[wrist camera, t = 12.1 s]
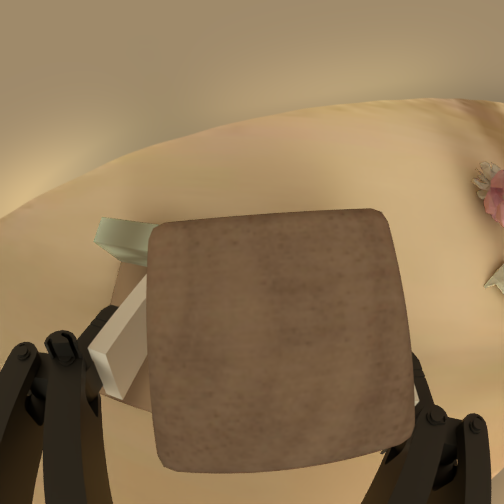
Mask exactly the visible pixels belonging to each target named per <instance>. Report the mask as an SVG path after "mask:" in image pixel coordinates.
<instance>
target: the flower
mask: <svg viewBox="0 0 504 504" xmlns="http://www.w3.org/2000/svg"><path fill="white" fill-rule="evenodd" d="M491 164H492V169H491V167H490V165H489V163H487V162H486V161H485V162H482V163H480V165H481V168H482V170H483V173H484V175H483V174H482V173H481V172H480V171H478V169H477V168H476V169H475V170H477V171H478V172H479V173H480V174H481V175H480V176H478V177H479V178H481V179H482V180H483V181H482V180H479V179H478V178H476V179H473V180H472V181H471V182H472V183H474V184H475V185H476V186H477V187H479V188H480V189H481V190H479V191H477V195H478V197H480V198H481V199H485V200H484V202H483V203H484V207H485V211H486V213H489V214H491V216H492V218H493V219H494V220H495V221H496V222H499V223H500V224H501V225H502V226H503V227H504V170H501V169H500V168H499V167H498V166H496V165H495V164H493V163H491ZM485 177H486V178H485ZM488 179H489V180H488ZM477 180H479V181H482V182H485V183H481V182H478V181H477ZM493 285H496V286H497V287H498V288H499V289H500V291H501V292H502V293H503V294H504V264H503V265H502V266H501V267H500V268H498V269H497V270H496V272H495V273H494V275H493V276H492V277H491V278H490V279H489V281H488V282H487V283H486V284H485V285H484V288H488V287H491V286H493Z"/></svg>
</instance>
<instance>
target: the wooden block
mask: <svg viewBox="0 0 504 504" xmlns="http://www.w3.org/2000/svg"><path fill="white" fill-rule="evenodd" d="M146 327H147V356H148V373H149V387H150V399H151V409H152V418H153V426H154V434H155V442H156V448H157V454H158V457H159V459H160V460H161V462H162V464H163V466H164V467H166V468H169V469H171V470H174V471H177V472H191V473H255V472H269V471H280V470H289V469H296V468H304V467H310V466H316V465H322V464H327V463H332V462H337V461H342V460H346V459H351V458H355V457H359V456H363V455H367V454H370V453H374V452H377V451H381V450H384V449H387V448H390V447H394V446H397V445H400V444H402V443H403V442H404V441H406V440H407V439H409V438H410V437H411V435H412V432H413V429H414V426H415V396H414V376H413V362H412V351H411V341H410V333H409V325H408V318H407V311H406V304H405V298H404V292H403V287H402V281H401V276H400V271H399V266H398V262H397V257H396V253H395V248H394V244H393V240H392V236H391V232H390V228H389V224H388V221H387V220H386V218H385V217H384V215H383V214H382V212H380V211H377V210H374V209H371V208H369V209H344V210H323V211H304V212H288V213H273V214H259V215H245V216H233V217H221V218H209V219H198V220H188V221H178V222H168V223H163V224H161V225H159V226H157V227H154V228H153V230H152V232H151V235H150V237H149V240H148V254H147V284H146Z"/></svg>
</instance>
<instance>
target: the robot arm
mask: <svg viewBox="0 0 504 504" xmlns="http://www.w3.org/2000/svg"><path fill="white" fill-rule="evenodd" d="M146 284H147V274H146V275H145V276H144V277H143V279H142V280H141V281H140V282H139V283H138V285H137V286H136V287H135V288H134V289H133V291H132V292H131V293H130V294H129V296H128V297H127V298H126V299H125V300H124V302H123V303H122V304H121V305H120V307H118V306H115V305H109V306H108V307H106V308H104V309H103V310H101V312H100V313H99V314H98V315H97V316H96V318H95V319H94V320H93V321H92V322H91V324H90V325H89V326H88V327H87V328H86V330H85V331H84V332H83V333H82V334H81V336H80V337H79V338H78V339H77V340H76V337H75V336H74V334H73V333H71V332H69V331H65V330H61V331H56V332H54V333H52V334H50V335H49V336H48V337H47V338H46V340H45V342H44V344H45V346H46V349H47V351H48V353H49V354H47V353H39V352H38V350H37V348H36V347H35V345H34V344H32V343H30V342H23V343H20V344H18V345H17V346H15V347H14V349H13V350H12V351H11V353H10V355H9V357H8V359H7V360H6V362H5V364H4V366H3V368H2V370H1V372H0V504H32V500H33V494H34V488H35V483H36V477H37V473H38V468H39V464H40V459H41V455H42V451H43V477H44V492H45V503H46V504H113V502H112V497H111V491H110V486H109V480H108V473H107V466H106V459H105V450H104V440H103V429H102V413H101V397H100V394H99V392H100V390H101V388H102V387H104V389H105V392H106V394H108V395H111V396H113V397H116V398H118V399H121V400H123V399H124V397H125V395H126V393H127V391H128V389H129V387H130V385H131V384H132V382H133V380H134V378H135V376H136V374H137V372H138V371H139V369H140V367H141V365H142V363H143V361H144V360H145V358H146V356H147V327H146ZM412 362H413V376H414V396H415V426H414V429H413V432H412V435H411V437H410V438H409V439H407V440H406V441H404V442H403V443H402V444H400V445H397V446H394V447H390V448H387V449H384V450H382V452H381V453H380V454H383V453H385V452H386V453H385V456H384V458H383V460H382V462H381V465H380V467H379V469H378V471H377V473H376V475H375V478H374V480H373V482H372V484H371V486H370V488H369V490H368V491H367V493H366V495H365V497H364V499H363V501H362V503H361V504H491V463H490V449H489V439H488V431H487V425H486V422H485V421H484V419H483V418H482V417H481V416H480V415H478V414H475V413H472V414H469V415H467V416H466V417H465V418H464V419H463V420H459V419H454V418H449V417H448V416H447V414H446V412H445V411H444V410H443V409H442V408H441V407H439V406H438V405H435V404H434V402H433V399H432V396H431V393H430V390H429V387H428V384H427V381H426V378H424V377H425V375H424V373H423V371H422V367H421V364H420V362H419V359H418V358H417V357H416V356H415V355H414V353H413V352H412ZM457 461H458V465H457Z"/></svg>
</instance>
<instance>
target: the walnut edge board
mask: <svg viewBox="0 0 504 504" xmlns="http://www.w3.org/2000/svg"><path fill="white" fill-rule="evenodd" d="M157 226H159V225H157V224H150V223H143V222H136V221H128V220H121V219H113V218H106V217H102V218H101V221H100V224H99V227H98V230H97V233H96V236H95V239H94V242H95V243H96V244H98V245H99V246H100V247H102V248H103V249H104V250H106V251H107V252H108V253H110V254H111V255H113V256H114V257H115V258H117V259H118V260H120V261H121V264H120V268H119V271H118V275H117V279H116V283H115V287H114V291H113V295H112V299H111V303H110V305H115V306H118V307H120V305H121V304H122V303H123V302H124V300H125V299H126V298H127V297H128V296H129V294H130V293H131V292H132V291H133V289H134V288H135V287H136V286H137V285H138V283H139V282H140V281H141V280H142V279H143V277H144V276H145V275H146V274H147V254H148V240H149V237H150V235H151V232H152V230H153V228H154V227H157ZM99 394H102V395H104V396H107V397H109V398H112V399H114V400H117V401H120V402H122V403H125V404H128V405H131V406H133V407H136V408H139V409H142V410H145V411H148V412H151V413H152V409H151V399H150V387H149V373H148V356H146V358H145V360H144V361H143V363H142V365H141V367H140V369H139V371H138V372H137V374H136V376H135V378H134V380H133V382H132V384H131V385H130V387H129V389H128V391H127V393H126V395H125V397H124V399H123V400H121V399H118V398H116V397H113V396H111V395H108V394H106V392H105V389H104V387H102V388H101V390H100V392H99Z"/></svg>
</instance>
